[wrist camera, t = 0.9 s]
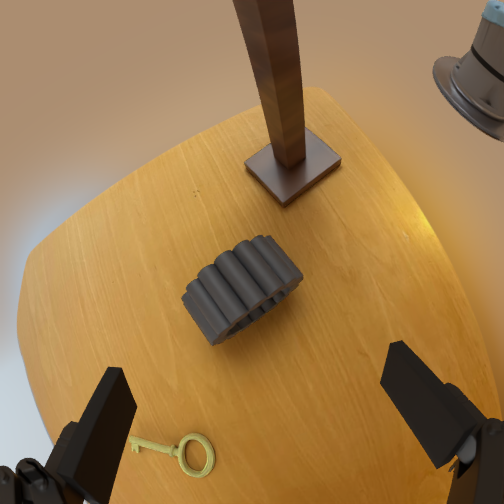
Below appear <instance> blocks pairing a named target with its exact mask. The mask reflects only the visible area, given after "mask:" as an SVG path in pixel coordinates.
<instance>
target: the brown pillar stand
mask: <svg viewBox="0 0 504 504" xmlns="http://www.w3.org/2000/svg"><path fill="white" fill-rule="evenodd" d="M233 3H234V6H235V10H236V13H237V16H238V19H239V23H240V26H241V30H242V33H243V37H244V40H245V43H246V47H247V50H248V54H249V58H250V62H251V65H252V69H253V72H254V77H255V80H256V84H257V87H258V92H259V96H260V99H261V104H262V108H263V112H264V116H265V120H266V124H267V128H268V133H269V137H270V141H271V143H270V144H268V145H267V146H266V147H264V148H263V149H261V150H260V151H259V152H257V153H256V154H254V155H253V156H252V157H250V158H249V159H248V160H246V161H245V162H244V164H245V167H246V168H247V170H248V171H249V172H250V173H251V174H252V175H253V176H254V177H255V178H256V179H257V180H258V181H259V182H260V183H261V184H262V185H263V186H264V187H265V188H266V189H267V191H268V192H269V193H270V194H271V195H272V196H273V197H274V198H275V199H276V200H277V201H278V202H279V203H280V205H281V206H282V207H283V208H284V207H286V206H287V205H288V204H289V203H291V202H292V201H293V200H294V199H296V198H297V197H298V196H300V195H301V194H302V193H303V192H305V191H306V190H307V189H309V188H310V187H311V186H312V185H314V184H315V183H316V182H318V181H319V180H320V179H321V178H323V177H324V176H325V175H327V174H328V173H329V172H330V171H332V170H333V169H334V168H336V167H337V166H338V165H340V164H341V157H340V156H339V155H338V154H337V153H335V152H334V151H333V150H332V149H331V148H330V147H329V146H328V145H326V144H325V143H324V142H323V141H322V140H321V139H319V138H318V137H317V136H316V135H315V134H313V133H312V132H311V131H310V130H309V129H307V128H306V127H305V121H304V104H303V90H302V77H301V66H300V56H299V46H298V37H297V29H296V20H295V13H294V5H293V0H233Z"/></svg>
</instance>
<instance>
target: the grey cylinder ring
mask: <svg viewBox="0 0 504 504" xmlns="http://www.w3.org/2000/svg"><path fill="white" fill-rule="evenodd" d="M197 277H198V278H197V279H195V280H193V281H192V282H190V283H189V284H188V285H187V287H186V290H187V292H186V293H185V294H184V295H183V296H182V298H181V299H182V301H183V302H184V306H185V307H186V309H187V311H188V312H189V314H190V315H191V317H192V318H193V320H194V321H195V322H196V324H197V325H198V327H199V328H200V330H201V331H202V333H203V334H204V336H205V337H206V338H207V340H208V341H209V343H210V344H211V345H212V346H214V345H216V344H220V343H222V342H223V341H225V340H226V339H230V338H232V337H233V336H235V335H236V334H237V333H239V332H241V331H243V330H244V329H246V328H247V327H249V326H250V325H251V324H252V323H254V322H256V321H257V320H259V319H260V318H261V317H263V316H264V315H265V313H267V312H269V311H270V310H272V309H273V308H274V307H275V306H277V305H278V303H279V302H281V301H282V300H283V299H285V298H286V297H287V296H288V295H289V293H290V292H292V291H293V290H294V289H295V288H296V287H297V286H298V285H299V283H300V282H301V281H302V280H303V274H302V273H301V272H300V270H299V269H298V268H297V267H296V266H295V264H294V263H293V262H292V261H291V260H290V258H289V257H288V256H287V255H286V254H285V252H284V251H283V250H282V249H281V248H280V246H279V245H278V244H277V243H276V242H275V240H274V239H273V238H272V237H271V236H270V235H269V236H266V237H263V235H258V236H256V237H255V238H253V239H252V240H251V241H250V242H249V241H248V240H244V241H242V242H240V243H239V244H238V245H236V246H235V247H234V249H233V250H232V251H231V250H228V251H225V252H223V253H222V254H220V255H219V256H218V257H217V258H216V259H215V261H214V264H210V265H208V266H206V267H204V268H203V269H202V270H201V271H200V272H199V273H198V275H197Z"/></svg>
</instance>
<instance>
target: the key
mask: <svg viewBox="0 0 504 504" xmlns="http://www.w3.org/2000/svg"><path fill="white" fill-rule="evenodd" d="M188 440H197V441H199V442H200V443H202V445H203V446H204V448H205V450H206V453H207V462H206V465H205V467H204V469H203V470H202V471H196V470H193V469H191V468H190V467H189V466H188V464H187V462H186V459H185V452H184V451H185V445H186V443H187V441H188ZM129 442H131V445H132V451H134V450H135V451H136V452H138V453H139V452H140V447H139V445H140V446H143V447H146V448H149V449H153V450H156V451H160V452H163V453H167V454H169V456H170V457H174V456H178V460H179V464H180V467H181V468H182V470H183V471H184V472H185V473H186V474H188V475H189V476H192V477H196V478H200V477H204V476H205V475H207V474H208V473H209V472H210V471H211V470H212V469H213V466H214V462H215V456H214V451H213V448H212V446H211V444H210V442H209V440H208V439H207V438H206V437H205V436H203V435H201V434H198V433H190V434H188V435H186V436H184V437H183V439H182V440H181V441H180V444H179V448H176V446H175V445H171V446H166V445H163V444H159V443H155V442H152V441H148V440H145V439H142V438H139V437H136V436H133V435H131V436H130V438H129Z"/></svg>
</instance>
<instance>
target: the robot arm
mask: <svg viewBox="0 0 504 504" xmlns="http://www.w3.org/2000/svg"><path fill="white" fill-rule="evenodd" d="M451 78H452V80H453V83H454V84H455V86H456V88H457V89H458V90H459V92H460V93H461V94H462V95H463V96H464V98H465V99H466V100H467V101H468V102H469V103H470V104H472V105H473V106H474V107H475V108H476V109H477V110H479V111H480V112H481V113H483V114H484V115H486V116H488V117H489V118H491V119H493V120H496V121H499V122H504V3H503V2H500V1H497V0H490V1H488V2H487V4H486V7H485V9H484V12H483V13H482V20H481V22H480V25H479V28H478V31H477V33H476V36H475V39H474V41H473V44H472V46H471V49H470V51H469V52H467V53H466V54H465V55H464V56H463V57H462V58H461V59H460V60H459V61H457V62H456V63H455V65H454V66H453V69H452V71H451ZM380 384H381V386H382V387H383V389H384V390H385V391H386V393H387V394H388V396H389V397H390V399H391V400H392V402H393V403H394V405H395V406H396V408H397V409H398V411H399V412H400V414H401V415H402V417H403V418H404V420H405V421H406V423H407V424H408V426H409V427H410V429H411V430H412V432H413V433H414V435H415V436H416V438H417V439H418V441H419V442H420V444H421V445H422V447H423V448H424V450H425V451H426V453H427V455H428V456H429V458H430V459H431V461H432V462H433V464H434V466H435V467H436V469H438V468H440V467H442V466H443V465H445V464H447V463H449V462H450V461H451V460H452V458H453V457H454V456H455V455H457V457H458V459H457V460H456V461H455V462H454V464H453V465H452V466H451V467H450V469H449V471H448V472H451V470H452V469H453V468H454V467H455V470H454V471H453V472H454V475H453V480H452V484H451V488H450V493H449V496H448V500H447V504H504V421H500V420H499V419H496V418H490V419H487V418H486V417H485V416H484V415H483V414H482V413H481V412H480V411H479V410H478V409H477V408H476V406H475V405H474V404H473V403H472V402H471V401H470V400H468V398H467V397H466V396H465V395H463V392H462V391H461V390H460V389H459V388H458V387H456V386H455V385H453V384H451V383H449V382H448V383H446V384H443V383H442V382H441V381H440V379H439V378H438V377H437V376H436V375H435V374H434V373H433V372H432V371H431V370H430V369H429V368H428V367H427V366H426V365H425V364H424V362H423V361H422V360H421V359H420V358H419V357H418V356H417V355H416V354H415V353H414V352H413V351H412V350H411V349H410V348H409V347H408V346H407V345H406V344H405V343H404V342H403V341H402V340H401V341H397V342H393V343H390V345H389V350H388V354H387V358H386V362H385V366H384V370H383V374H382V377H381V381H380ZM136 409H137V405H136V402H135V400H134V398H133V395H132V393H131V390H130V388H129V386H128V383H127V380H126V378H125V375H124V373H123V370H122V368H119V367H108V368H107V370H106V372H105V373H104V375H103V377H102V379H101V381H100V382H99V384H98V386H97V388H96V390H95V392H94V393H93V395H92V397H91V399H90V401H89V403H88V405H87V407H86V409H85V411H84V413H83V415H82V417H81V418H80V420H79V422H78V423H77V422H73V421H71V422H70V423H69V424H68V425H66V426H65V427H64V428H63V430H62V432H61V434H60V436H59V437H60V438H58V440H57V442H56V445H55V446H54V448H53V450H52V452H51V454H50V456H49V459H48V460H47V463H46V465H45V467H43V466H42V465H41V464H40V463H39V462H38V461H36V460H35V459H33V458H24V459H22V460H20V462H19V463H18V464H17V466H16V474H15V473H14V472H13V471H12V470H11V469H10V468H9V467H7V466H0V504H83V502H84V499H85V500H86V501H87V502H89V503H90V504H109V500H110V496H111V492H112V488H113V485H114V481H115V477H116V474H117V470H118V467H119V463H120V460H121V457H122V453H123V450H124V447H125V443H126V440H127V437H128V434H129V431H130V428H131V425H132V421H133V418H134V415H135V412H136Z"/></svg>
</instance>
